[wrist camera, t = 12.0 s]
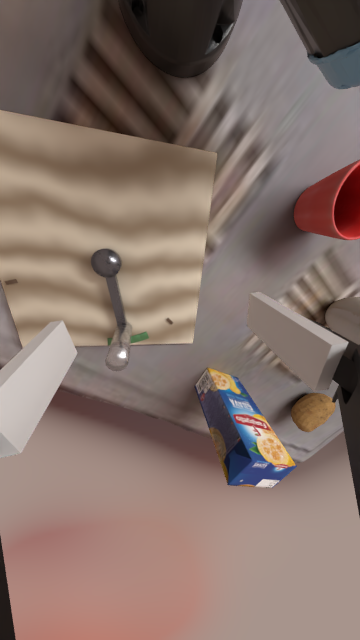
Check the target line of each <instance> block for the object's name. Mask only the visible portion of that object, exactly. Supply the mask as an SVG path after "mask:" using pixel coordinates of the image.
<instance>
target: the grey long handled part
mask: <svg viewBox="0 0 360 640" xmlns="http://www.w3.org/2000/svg"><path fill="white" fill-rule="evenodd" d="M91 266H92V268H93V270H94V271H95V272H96V273H97V274H98V275H100V276H102V277H105V278H106V282H107V286H108V290H109V294H110V298H111V302H112V306H113V310H114V313H115V317H116V321H117V326H116V329H115V332H114V335H113V338H112V342H111V345H110V348H109V351H108V355H107V358H106V366H107V367H108V368H109V369H111V370H113V371H120V370H123V369H125V368H126V367H127V365H128V360H129V352H130V344H131V336H132V325H131V324H130V323H129V322H127V320H126V315H125V311H124V307H123V302H122V298H121V293H120V289H119V284H118V280H117V276H116V274H117V273H118V272H119V271H120V269H121V266H122V260H121V257H120V256H119V254H118V253H117V252H116V251H114V250H113V249H109V248H103V249H100V250H97V251H96V252H95V253H94V254H93V255H92V257H91Z"/></svg>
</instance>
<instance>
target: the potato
mask: <svg viewBox="0 0 360 640" xmlns="http://www.w3.org/2000/svg"><path fill="white" fill-rule="evenodd" d="M334 410H335V403H333V402H332V398H330V397H328V396H326V395H324V394H320V393H310V394H307V395H305V396H304V397H302V398H301V399H299V400H298V401H297V402H296V404H295V405H294V406H293V408H292V410H291V417H292V419H293V421H294V423H295V424H296V425H297V427H298V428H299V429H301V430H302V431H305V432H310V431H313V430H314V429H316V428H317V427H318V426H320V425H322V424H324V423H325V422H326V421H327V419H328V418H329V417H330V416H331V415H332V414H333V412H334Z"/></svg>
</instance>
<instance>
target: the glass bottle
mask: <svg viewBox="0 0 360 640" xmlns="http://www.w3.org/2000/svg"><path fill="white" fill-rule="evenodd" d="M325 320H326V323H327V325H328V326H329V327H330V329H331V330H332V331H334V332H336V333H338V334H340V335H342V336H343V337H345V338H347V339H349V340H351V341H352V342H354V343H356V344H358V345H360V297H348V298H344V299H340V300H338V301H336V302H334V303H333V304H331V305H330V307H329V308H328V310H327V312H326V314H325Z"/></svg>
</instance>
